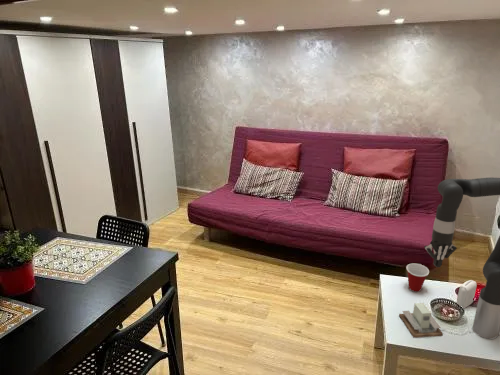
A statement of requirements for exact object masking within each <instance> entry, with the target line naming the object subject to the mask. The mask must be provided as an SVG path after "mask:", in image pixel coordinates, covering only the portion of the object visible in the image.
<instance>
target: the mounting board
mask: <svg viewBox="0 0 500 375" xmlns="http://www.w3.org/2000/svg"><path fill="white" fill-rule="evenodd" d="M410 313H411V314H413V312H410ZM398 316H399V318H400V320H401V322H402V323H403V324H404V326H405V327H406V329H407V330H408V332H409V333H410V335H411V336H412V337H413V338H428V337H429V338H430V337H442V336H444V333H443V332H442V331H441V328H437V330H436V332H433V333H418V332H417V331H416V330H415V329H414V328H413V326H412V325H411V323H410V322H409V320H408V319H407V317H406V316H405V315H404V313H399V314H398Z"/></svg>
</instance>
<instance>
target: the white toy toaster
mask: <svg viewBox="0 0 500 375" xmlns="http://www.w3.org/2000/svg"><path fill="white" fill-rule="evenodd" d="M477 285H478V284H477V282H476V281H474V280H473V279H470V280H467V281H465V282H464V283H462V284H461V285H460V286H459V290H458V294H457V298H456V302H455V303H457V304H459V305H460V306H462V307H463V308H462V309H465V308H467V307H469V306H470V305H472V304H473V303H474V300H473V298H474V299H475V294H476V290H477Z"/></svg>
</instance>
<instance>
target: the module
mask: <svg viewBox="0 0 500 375" xmlns="http://www.w3.org/2000/svg"><path fill="white" fill-rule="evenodd" d="M412 313H413V317H414V319H415V320H416V321H417V323H418V324H419V326H420V327H421V328H429V324H430V318H431V316H432V312H431V311H430V310H429V308H428V307H427V306H426V304H425V303H424V302H418V303H417V302H415V303H414V306H413V311H412Z"/></svg>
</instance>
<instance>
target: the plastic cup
mask: <svg viewBox="0 0 500 375" xmlns="http://www.w3.org/2000/svg"><path fill="white" fill-rule="evenodd" d="M405 267H406V271H407V279H408V280H407V282H408V289H409V290H410V291H412V292H420V291H421V290H422V288H423V285H424V283H425V280H426V278H427V276H428V275H429V273H430V270H429V268H428V267H427V266H425V265H424V264H423V265H422V264H421V263H413V262H412V263H409V264H407V265H406V266H405Z"/></svg>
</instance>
